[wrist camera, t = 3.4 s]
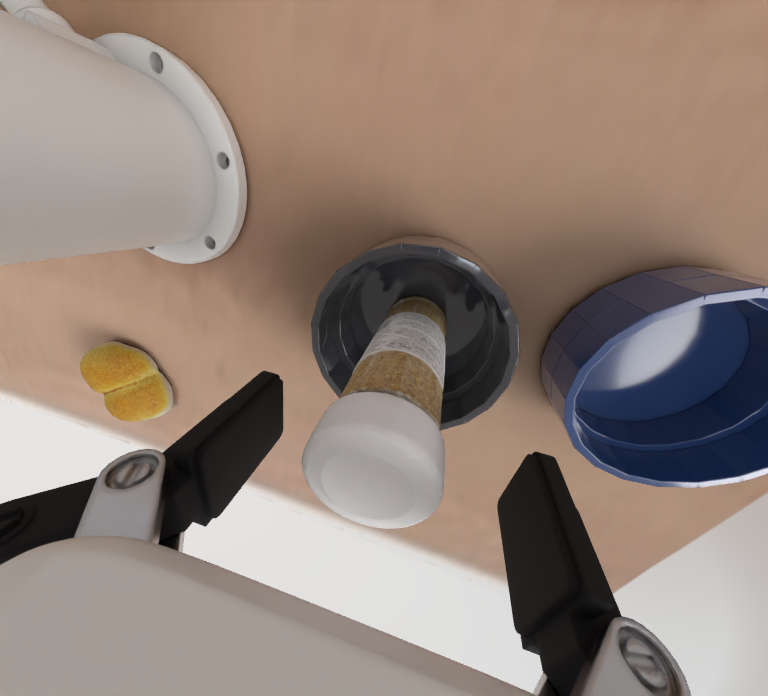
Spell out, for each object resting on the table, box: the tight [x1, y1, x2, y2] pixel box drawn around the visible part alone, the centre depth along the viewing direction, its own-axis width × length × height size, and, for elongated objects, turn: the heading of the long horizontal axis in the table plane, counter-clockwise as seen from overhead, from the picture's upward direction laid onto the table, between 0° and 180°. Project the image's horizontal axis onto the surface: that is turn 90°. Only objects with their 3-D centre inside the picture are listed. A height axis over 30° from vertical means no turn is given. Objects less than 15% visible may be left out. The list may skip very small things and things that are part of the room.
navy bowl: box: [541, 266, 768, 488], centre depth 16 cm, size 12×12×5 cm
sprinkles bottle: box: [302, 296, 447, 529], centre depth 14 cm, size 5×5×14 cm
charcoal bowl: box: [311, 235, 520, 430], centre depth 18 cm, size 12×12×5 cm
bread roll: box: [80, 342, 173, 421], centre depth 28 cm, size 8×9×4 cm
